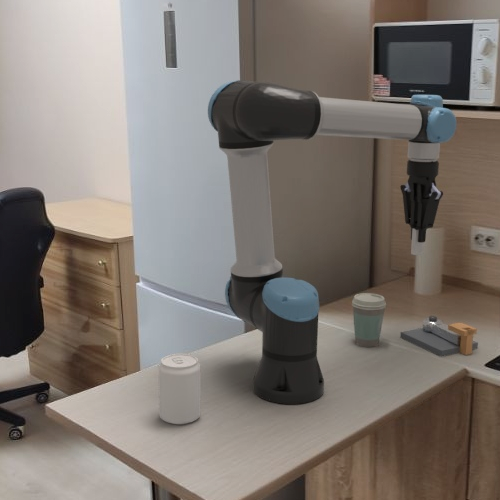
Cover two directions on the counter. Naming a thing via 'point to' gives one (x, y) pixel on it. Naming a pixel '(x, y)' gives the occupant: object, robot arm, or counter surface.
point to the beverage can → (179, 389)
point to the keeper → (464, 336)
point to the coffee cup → (368, 318)
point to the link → (440, 329)
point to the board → (432, 342)
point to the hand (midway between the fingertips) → (417, 253)
